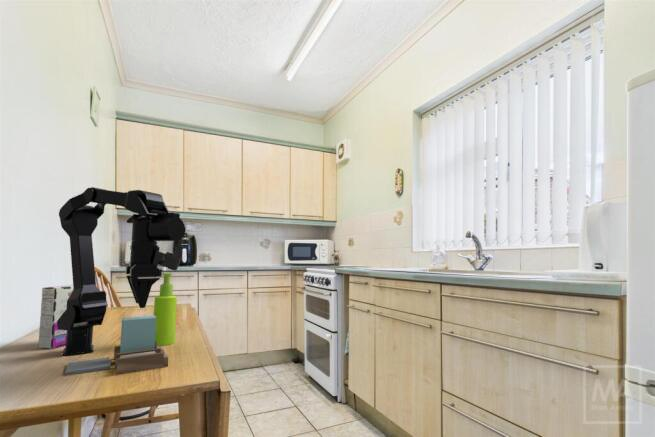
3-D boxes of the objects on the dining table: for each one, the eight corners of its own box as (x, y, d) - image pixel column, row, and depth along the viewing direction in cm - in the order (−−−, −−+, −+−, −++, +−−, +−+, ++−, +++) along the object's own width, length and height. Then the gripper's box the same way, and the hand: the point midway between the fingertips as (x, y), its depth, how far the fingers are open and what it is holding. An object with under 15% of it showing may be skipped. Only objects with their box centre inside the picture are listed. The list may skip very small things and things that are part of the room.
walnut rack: (114, 358, 85) (114, 345, 85) (159, 352, 90) (159, 340, 90) (116, 374, 73) (117, 359, 74) (167, 366, 79) (168, 352, 79)
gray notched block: (119, 369, 77) (120, 355, 77) (158, 364, 81) (158, 350, 82) (119, 372, 75) (120, 358, 75) (159, 366, 79) (160, 353, 80)
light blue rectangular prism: (119, 360, 83) (122, 317, 84) (151, 356, 87) (154, 315, 88) (120, 365, 80) (123, 320, 81) (154, 360, 84) (156, 317, 85)
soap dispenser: (172, 339, 105) (175, 272, 107) (176, 344, 99) (179, 273, 101) (150, 341, 102) (154, 272, 104) (153, 346, 96) (157, 273, 98)
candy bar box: (73, 339, 105) (78, 283, 106) (87, 339, 104) (91, 284, 105) (35, 348, 94) (41, 286, 95) (51, 349, 93) (56, 287, 94)
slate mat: (67, 365, 79) (68, 362, 79) (109, 359, 84) (109, 357, 84) (65, 375, 73) (65, 372, 73) (110, 368, 77) (110, 365, 77)
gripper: (186, 241, 83) (183, 307, 81) (172, 243, 99) (169, 299, 97) (133, 239, 77) (128, 311, 75) (127, 242, 93) (123, 302, 91)
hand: (140, 305), depth 85 cm, fingers open, 9 cm apart
